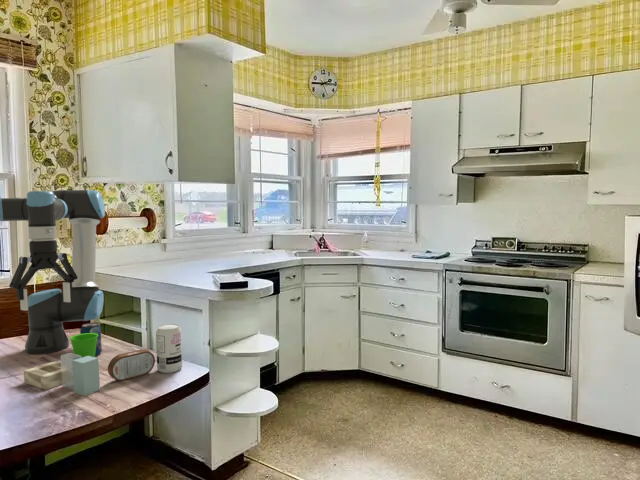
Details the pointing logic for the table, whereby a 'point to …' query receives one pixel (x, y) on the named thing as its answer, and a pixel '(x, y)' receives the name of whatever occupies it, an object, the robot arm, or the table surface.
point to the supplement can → (169, 348)
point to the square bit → (86, 375)
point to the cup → (84, 344)
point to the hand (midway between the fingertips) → (46, 305)
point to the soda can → (93, 329)
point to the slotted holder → (44, 375)
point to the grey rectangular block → (68, 369)
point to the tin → (131, 364)
